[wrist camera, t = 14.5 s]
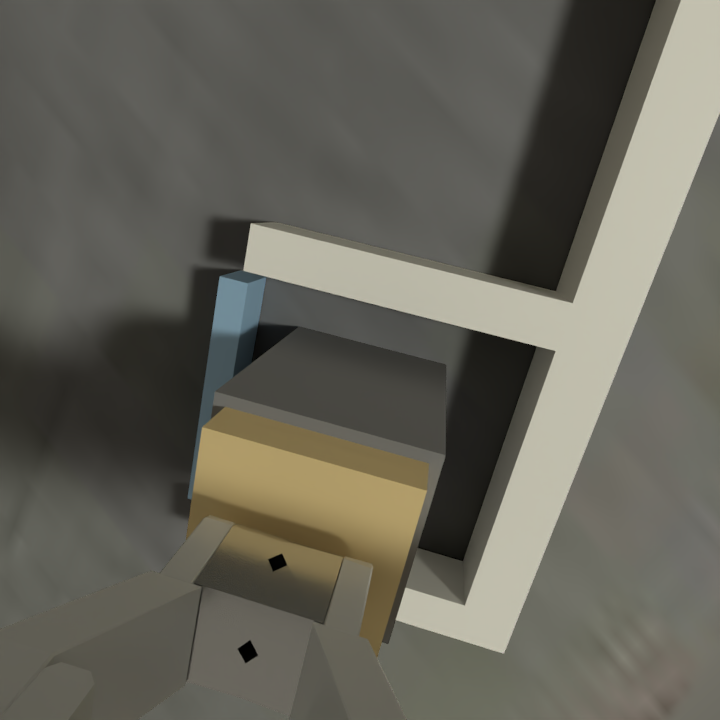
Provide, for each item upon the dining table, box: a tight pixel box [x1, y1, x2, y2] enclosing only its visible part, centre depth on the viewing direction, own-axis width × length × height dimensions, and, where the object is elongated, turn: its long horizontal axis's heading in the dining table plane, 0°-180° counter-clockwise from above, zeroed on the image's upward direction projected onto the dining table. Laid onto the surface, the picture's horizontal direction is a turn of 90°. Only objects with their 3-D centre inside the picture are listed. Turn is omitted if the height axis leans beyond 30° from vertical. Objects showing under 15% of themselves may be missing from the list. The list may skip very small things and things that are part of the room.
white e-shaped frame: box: [188, 0, 720, 654], centre depth 14 cm, size 19×10×2 cm, turn 167°
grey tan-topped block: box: [186, 327, 446, 657], centre depth 13 cm, size 4×4×7 cm
